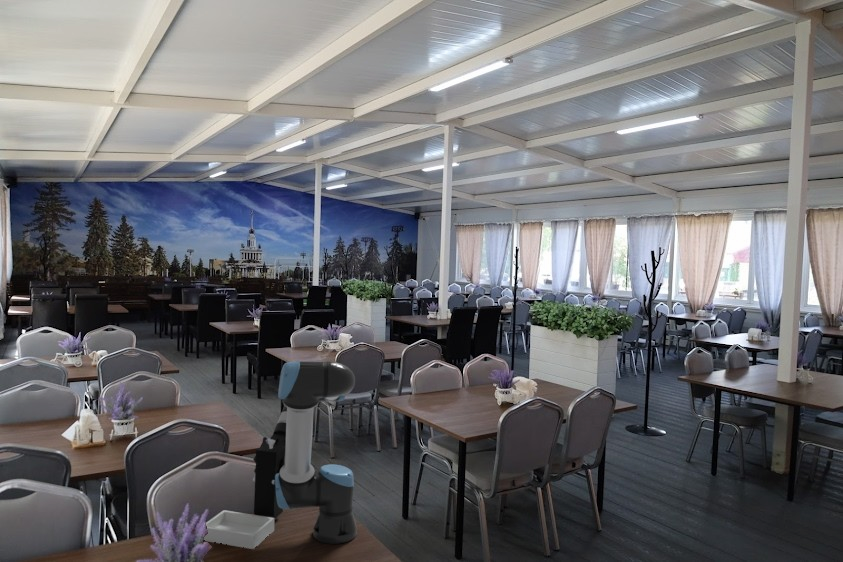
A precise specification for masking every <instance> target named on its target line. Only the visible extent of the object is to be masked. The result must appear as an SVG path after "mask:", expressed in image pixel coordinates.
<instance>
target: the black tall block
mask: <svg viewBox="0 0 843 562" xmlns="http://www.w3.org/2000/svg"><path fill="white" fill-rule="evenodd" d="M267 438H268V443H269V444H265V445H263V446H262V447H259V448H257V449H255V456H256V463H255V468H256V470H255V469H254V470H255V472H254V475H255V483H254V496H253V499H254V500H253V501H254V503H253V515H258V516H265V517H271V518H275V520H276V519H277V518H278V517H279V516H280V515H281V514H282V513H283V512H284V509H281V508H280V507H279V506H278V504H277V498H276V486H275V483H274V484H272V480H275V475H276V474H277V473H279V470H280V468H281V463H282V460H283V458H284V457H285V446H282V445H274V443H275V440H273V439H269V438H270V437H267Z"/></svg>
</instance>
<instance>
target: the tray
mask: <svg viewBox="0 0 843 562" xmlns="http://www.w3.org/2000/svg"><path fill="white" fill-rule="evenodd" d="M275 520H276V519H275V518H271V517H265V516H258V515H254V514H252V513H244V512H237V511H232V510H226V509H224V510H221V512H219V513H217V514H216V515H215V516H213V517H212V518H211V519H209V520H208V521H206V522H205V523H206V526H207V530H208V534H207V535H206V536H205V537H204V540H205V541H204V542H208V543H209V542H210V543H214V542H216V544H220V543H222V545H226V544H227V546H232V547H237V548H239V547H240V548H243V547H244V549H248V550H249V549H250V550H255V549H256V548H255V547H256V546H257V547H258V546H259V545H260V544H261V543H262V542H264V541H265V540H266V539H267V538H268V537H269V536H270V535H271V534H272V533H273V532H275ZM269 534H270V535H269ZM267 536H268V537H267ZM266 537H267V538H266ZM265 538H266V539H265Z"/></svg>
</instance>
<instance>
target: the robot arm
mask: <svg viewBox="0 0 843 562" xmlns="http://www.w3.org/2000/svg"><path fill="white" fill-rule="evenodd" d="M355 385H356V377H355V374H354V372H353V371H352V370H351V368H349V367H348V366H346V365H344V364H343V363H340V362H337V361H331V360H325V361H324V360H322V361H299V360H297V361H287V362H285V363H284V364H283V366H282V368H281V371H280V376H279V384H278V391H277V392H278V399H280V400H282V404H283V409H282V411H281V413H280V416H279V418H278V420H277V423H276V425H275V428H274V430H273V434H272V435H271V436H270V437H266V436H264V437H263V438H262V442H261V445H260V447H262V446H263V445H265V444H269V443H268V438H269V439H273V440H275V443H274V445H282V446H285V457H284V458H283V460H282V463H281V468H280V470H279V473H277V474H276V475H275V480H272V484H274V483H275V486H276V498H277V504H278V506H279V507H280V508H281V509H283V510H284V509H285V510H293V509H304V508H318V514H317V517H316V518H315V519H316V520H315V522H314V525H313V529H312V535H313V538H314V539H315V540H316V541H318V542H319V543H320V542H321V543H324V544H328V545H329V544H333V545H334V544H335V545H336V544H343V543H347V542H350V541H352V540H353V539H354V538H355V537H357V533H358V526H357V523H356V522H357V521H356V519H355V515H354V512H353V510H354V509H353V508H354V506H353V505H354V504H353V503H354V486H355V481H354V472H353V471H352V470H351V468H348V467H347V466H344V465H340V464H332V463H330V464H325V465H322V466H321V467H320V469H319V470H318V471H317V470H316V471H315V468H314V466H313V465H312V464H311V460H312V459H311V458H312V445H313V444H312V443H313V428H314V413H315V412H314V411H315V407H317V406H318V405H319V404H320V403H321V402H322V403H324V402H325V403H326V402H329V403H330V402H332V403H333V402H334V403H335V402H336V403H337V402H342V401H344V400H345V399H346V396H347V395H348V394H350V393H351V392H352V391H353V389H354V388H355ZM260 447H259V448H260ZM253 462H254V463H255V464H256V455H255V456H254V457H253ZM255 470H256V467H254V470H253V472H254V473H255ZM252 482H253V483H254V484H255V474H254V475H253V478H252Z"/></svg>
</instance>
